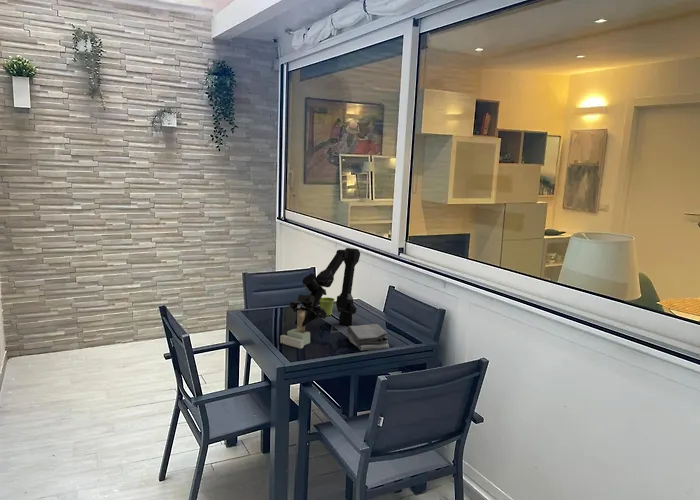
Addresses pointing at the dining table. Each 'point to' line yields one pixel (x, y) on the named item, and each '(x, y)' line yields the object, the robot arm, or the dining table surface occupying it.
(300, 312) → the dowel
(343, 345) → the dining table surface
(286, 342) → the kerb
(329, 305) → the plant pot
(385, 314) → the dining table surface
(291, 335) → the block
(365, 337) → the towel
